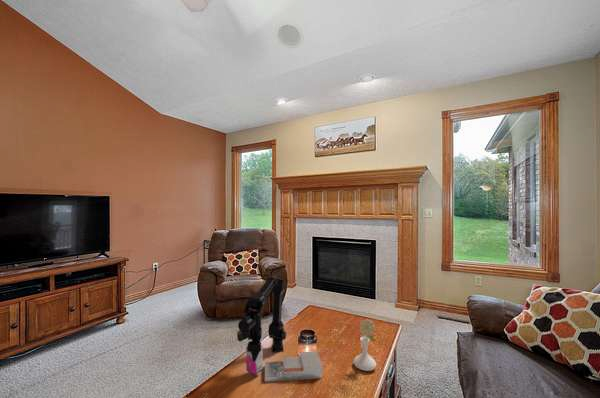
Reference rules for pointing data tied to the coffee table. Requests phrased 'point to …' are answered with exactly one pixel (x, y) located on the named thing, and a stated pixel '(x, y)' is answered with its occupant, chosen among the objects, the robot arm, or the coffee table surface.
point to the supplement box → (254, 362)
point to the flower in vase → (365, 347)
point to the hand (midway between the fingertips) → (254, 356)
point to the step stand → (294, 368)
